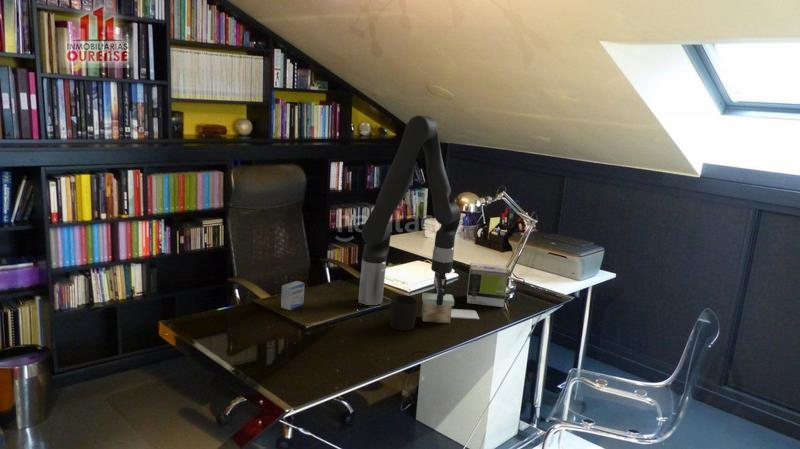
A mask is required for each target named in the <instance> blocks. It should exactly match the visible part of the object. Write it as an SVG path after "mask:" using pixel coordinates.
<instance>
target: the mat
mask: <svg viewBox="0 0 800 449" xmlns="http://www.w3.org/2000/svg"><path fill="white" fill-rule="evenodd" d="M452 318H453V319H466V320H468V319H469V320H480V317H479V315H478V313H477V311H476V310H473V309H458V308H452V311H451V319H452Z"/></svg>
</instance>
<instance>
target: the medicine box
mask: <svg viewBox="0 0 800 449" xmlns="http://www.w3.org/2000/svg"><path fill="white" fill-rule="evenodd" d="M305 285H306V284H305V283H304V282H302V281H298V280H294V281H292V282H289V283H286V284H283V285H281V295H280V296H281V298H280V299H281V300H280V307H281V308H282V309H285V310H288V311H292V310H294V309H297V308H299V307H301V306H304V301H305V300H304V299H305Z"/></svg>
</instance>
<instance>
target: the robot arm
mask: <svg viewBox="0 0 800 449" xmlns="http://www.w3.org/2000/svg"><path fill="white" fill-rule="evenodd" d="M421 147H422V150H423V153H424V156H425V163H426V164H425V166H426V179H427V183H428V186H429V190H430V193H431V199H432V202H431V203H432V210H433V212H432V213H433V216H434V219H435V220H436V222H438V224H440V227H439V229H437V231H436V232H435V236H434V246H433V250H432V256H431V257H432V258H431V267H430V269H431V271H432V272H434V278H433V286H434V289H433V293H434V294H437V301H436V304H437V305H442V304H443V296H445V294H446V291H447V282H448V278H447V277H446V276H447V275H448V274H450V273H452V271H453V265H454V256H455V255H454V254H455V242H456V241H455V240H456V235H457V231H458V229H459V225H460V223H461V218H462V216H461V214H462V213H461V212H462V211H461V208H460V207H459V206H458V204H456V203H454V202H450V198H449V197H450V195H451V194H452V188H451V185H450V183H449V178H448V174H447V171H446V167H445V166H444V165H445V164H444V161H443V155H442V150H441V144H440V136H439V129H438V124H437V122H436V120H435V119H434V118H432V117H431V116H428V115H414V116H413V117H411V118H410V119H409V120H408V121H407V123H406V126H405V128H404V132H403V135H402V138H401V141H400V145H399V148H398V150H397V152H396V154H395V156H394V159H393V161H392V163H391V165H390V167H389V170H388V172H387V173H386V176H385V178H384V180H383V183H382V185H381V188H380V191H379V193H378V196H377V199H376V202H375V204H374V205H373V208H372V210H371V212H370V214H369V216H368V217H367V219H366V220H365V223H364V224H363V226H362V229H361V237H362V240H363V242H365V243H366V244H365V248H364V249H363V251H362V254H361V255H362V256H361V257H362V258H361V270H360V276H359V288H358V290H359V291H358V303H362V304H365V305H378V304H381V303H382V304H383V300H384V286H385V277H386V276H385V275H386V267H387V266H386V265H387V257H388V255H389V250H390V243H391V236H392V227H391V225H390V223H389V222H390V220H391V217H392V215H393V214H394V213H395V211H396V209H397V208H398V207H399V205H400V204H401V202H402V201H403V200H404V198H405V196H406V195H407V193H408V190H409V188H410V186H411V184H412V182H413V179H414V175H415V166H416V159H417V156H418V155H419V152H420V150H421ZM446 274H447V275H446ZM441 290H442V291H441ZM362 304H361V305H362ZM382 304H381V305H382ZM365 305H364V306H365Z"/></svg>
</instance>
